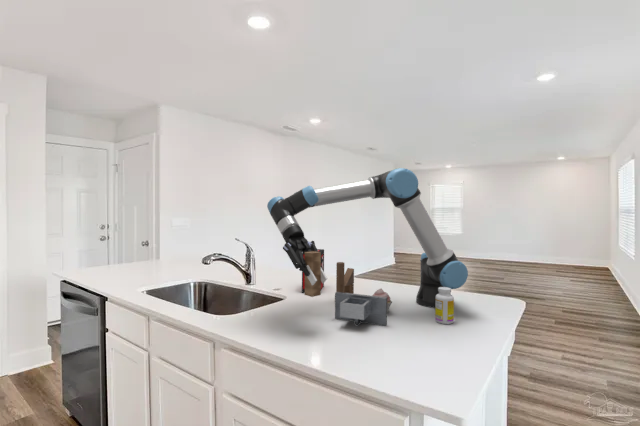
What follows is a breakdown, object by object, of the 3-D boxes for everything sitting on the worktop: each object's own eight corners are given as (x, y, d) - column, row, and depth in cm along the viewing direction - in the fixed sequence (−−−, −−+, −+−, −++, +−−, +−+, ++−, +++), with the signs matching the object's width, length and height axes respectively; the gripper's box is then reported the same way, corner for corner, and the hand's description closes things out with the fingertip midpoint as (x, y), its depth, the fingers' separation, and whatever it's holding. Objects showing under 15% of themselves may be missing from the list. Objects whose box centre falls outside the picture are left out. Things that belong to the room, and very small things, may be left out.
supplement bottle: (453, 320, 140) (454, 287, 140) (453, 325, 134) (454, 290, 134) (435, 318, 143) (435, 285, 142) (434, 323, 136) (435, 289, 136)
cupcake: (396, 312, 150) (396, 288, 150) (384, 317, 143) (384, 292, 143) (377, 307, 156) (377, 284, 156) (364, 312, 149) (364, 288, 149)
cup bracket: (387, 324, 135) (387, 297, 135) (379, 333, 125) (379, 304, 125) (336, 317, 143) (337, 291, 143) (325, 325, 133) (326, 298, 133)
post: (313, 292, 130) (313, 251, 130) (320, 295, 127) (320, 252, 127) (304, 294, 128) (304, 252, 127) (311, 296, 125) (311, 253, 124)
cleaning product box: (319, 293, 180) (319, 253, 179) (301, 293, 181) (302, 253, 181) (323, 286, 196) (324, 249, 196) (307, 285, 198) (307, 248, 197)
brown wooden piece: (353, 298, 171) (354, 260, 171) (341, 303, 162) (341, 263, 162) (347, 297, 173) (347, 259, 173) (334, 302, 165) (334, 262, 164)
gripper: (304, 236, 144) (332, 284, 132) (267, 238, 133) (295, 292, 121) (312, 223, 140) (343, 272, 128) (275, 225, 129) (305, 278, 117)
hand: (319, 281), depth 125 cm, fingers closed on post, 4 cm apart
